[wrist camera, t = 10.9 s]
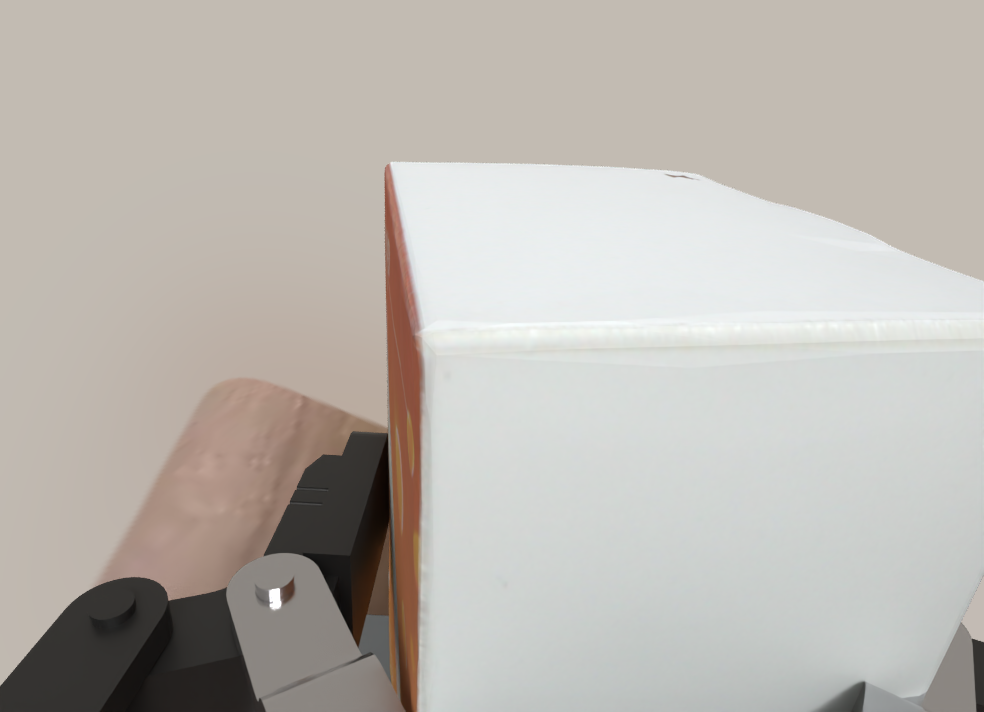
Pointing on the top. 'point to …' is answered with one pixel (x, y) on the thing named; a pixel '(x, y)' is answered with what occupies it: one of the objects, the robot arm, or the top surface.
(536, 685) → the small box
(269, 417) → the top surface
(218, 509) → the top surface
